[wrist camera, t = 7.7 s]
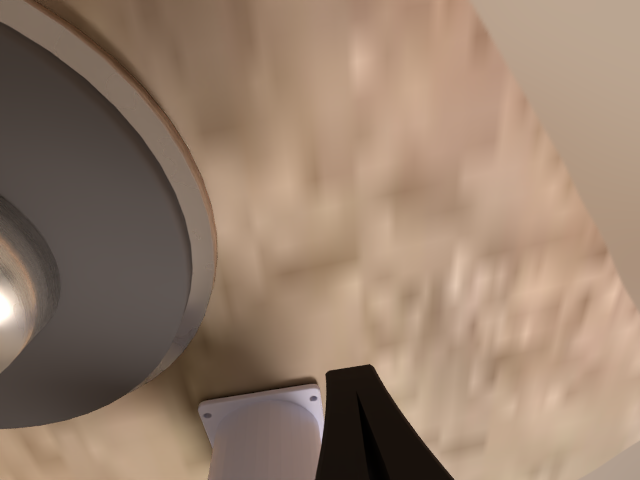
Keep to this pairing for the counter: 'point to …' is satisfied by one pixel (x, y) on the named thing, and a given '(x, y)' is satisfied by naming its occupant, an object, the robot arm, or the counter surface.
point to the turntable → (87, 239)
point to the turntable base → (156, 130)
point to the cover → (23, 282)
